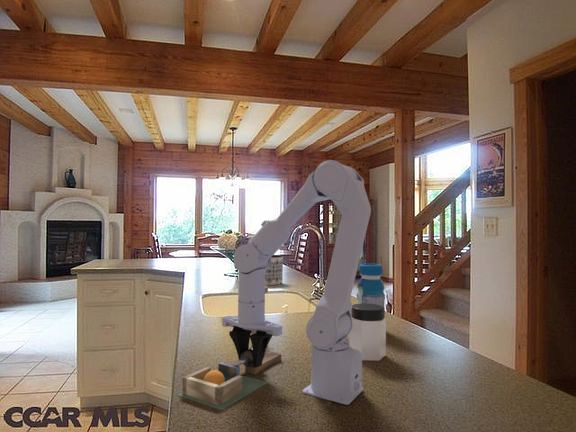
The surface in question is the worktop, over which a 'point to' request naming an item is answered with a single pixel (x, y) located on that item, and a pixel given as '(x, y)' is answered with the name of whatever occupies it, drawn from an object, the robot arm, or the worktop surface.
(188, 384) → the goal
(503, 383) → the worktop surface
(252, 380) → the mat
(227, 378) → the dark grey round-headed part
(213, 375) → the ball
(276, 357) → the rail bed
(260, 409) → the worktop surface
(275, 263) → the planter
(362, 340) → the jar
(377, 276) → the beverage bottle
